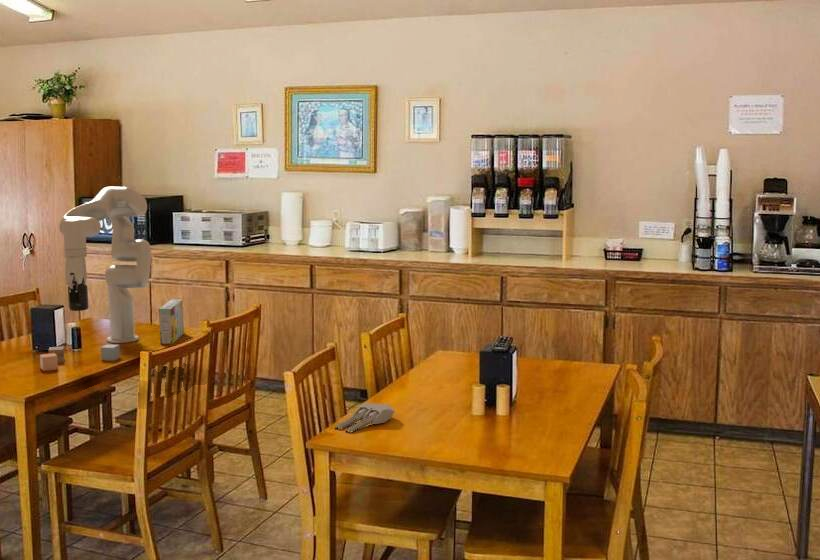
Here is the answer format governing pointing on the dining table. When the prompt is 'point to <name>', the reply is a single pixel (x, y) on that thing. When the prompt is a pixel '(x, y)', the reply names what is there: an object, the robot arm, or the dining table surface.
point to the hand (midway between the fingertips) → (78, 300)
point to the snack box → (171, 321)
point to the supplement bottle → (82, 296)
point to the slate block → (110, 352)
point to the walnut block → (58, 353)
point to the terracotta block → (48, 361)
